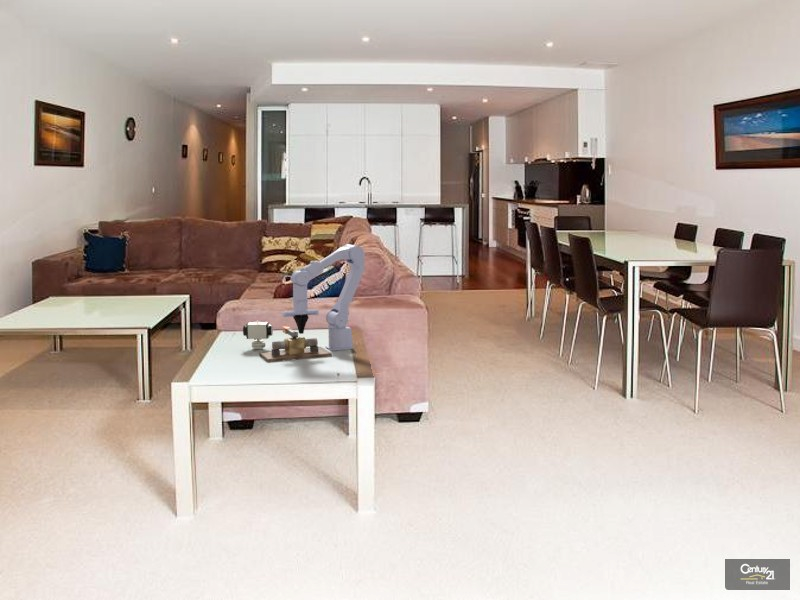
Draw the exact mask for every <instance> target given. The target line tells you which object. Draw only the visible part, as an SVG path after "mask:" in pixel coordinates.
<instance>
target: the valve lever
mask: <svg viewBox="0 0 800 600" xmlns="http://www.w3.org/2000/svg"><path fill="white" fill-rule="evenodd" d="M282 333H284V334H285V335H289V336H290V338H297V337H299V331H295V330H293V329H292V328H291V327H290V326H287V325H286V326H282Z"/></svg>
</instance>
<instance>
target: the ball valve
mask: <svg viewBox="0 0 800 600" xmlns="http://www.w3.org/2000/svg"><path fill="white" fill-rule="evenodd" d="M318 343H319V342H318V339H317V337H313V338H305V337H300V336H298V337H297V338H292V337H289V338H284V339H283V340H278V341H272V342H271V347H272V348H271V351H259V352H258V355H259V356H260V357H261V358H262V359H263V360H265V361H266V362H267V363H274V361H275V362H284V361H283V360H285V361H293V360H292V359H296V360H302V359H303V360H305V359H306V360H307V359H315V358H316V359H317V358H324V357H325V358H327V357H332V356H333V355H332V354H333V353H332V352H330V350H328V349H325V348H324V347H322V346H318V345H319V344H318Z"/></svg>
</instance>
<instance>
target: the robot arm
mask: <svg viewBox="0 0 800 600" xmlns="http://www.w3.org/2000/svg"><path fill="white" fill-rule="evenodd" d="M365 258H366V253H365V251H364V248H363V247H362V246H360V245H359V244H358V245H355V244H351V243H347V244H345V245H343V246H340V247H339V248H338V249H336V250H335V251H334V252H332V253H330V254H329V255H327V256H326V257H324V258H323V259H321V260H320V261H319V260H311V261H309V264H308V265H305V266H303V267H302V266H301V267H300V269H299V270H295V271H293V272H292V274H291V277H290V281H291V282H292V287H293V288H292V291H293V292H292V297H293V299H292V301H293V303H292V304H293V310H290V311H289V310H288V311H282V317H283V318H287V317H289V318H290V317H293V320H294V322H295V324H296V327H297V329H298V331H297V332H298V334H300V335H303V334H304V333H305V327H306V324H307V322H308V320H309V316H318V315H319V309H309V308H308V284H309V282H310V281H311V280H312V279H314V278H316V277H319V275H321V274H323V273H324V269H326V268H327V267H329V266H331V265H333V264H335V263H337V262H338V261H340V260H346V261H347V263H348V264H349V267H350V270H349V273H348V275H347V277H346V280H345V282H344V284H343V287H342V290H341V291H340V294H339V296H338V298H337V301H336V303H335V304H333V305H332V306H331V308H330V310H329V311H328V312H327V313H326V315H325V321H326V322H327V324H328V345H326V346H325V348H327V350H329V351H342V350H351V349H353V348H354V347H353V332H352V328H351V327H350V326H347V324H348V322H349V314H350V309H349V308H350V305H351V303H352V301H353V298H354V296H355V293H356V291H357V289H358V286H359V283H360V281H361V279H362V277H363V275H364V272H365V269H366V268H365V267H366V265H365V264H366V262H365Z"/></svg>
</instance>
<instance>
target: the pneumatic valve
mask: <svg viewBox="0 0 800 600" xmlns="http://www.w3.org/2000/svg"><path fill="white" fill-rule="evenodd" d="M273 333H274V329H273V325H271V324H270V321H265V322H263V321H262V322H261V321H260V320H256V321H253V322H251V321H249V322H247V323H246V324H245V325H243V328H242V335H243V336H244V337H246V340H253V341H252V342H251V348H252V349H253V350H263V349H264V348H266V342H265V341H264V340H267V339H268V340H269V338H270V336H273V335H274V334H273Z"/></svg>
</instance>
